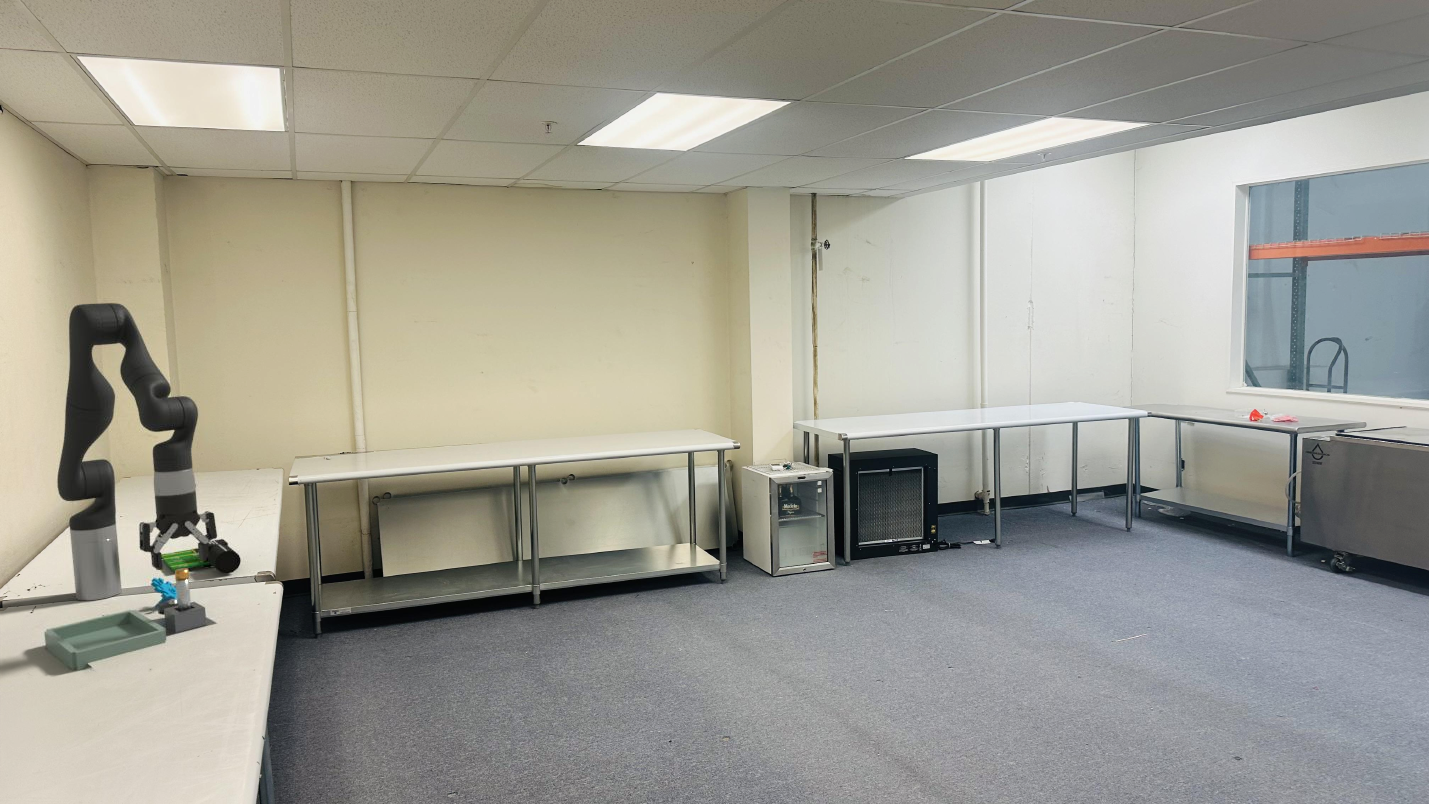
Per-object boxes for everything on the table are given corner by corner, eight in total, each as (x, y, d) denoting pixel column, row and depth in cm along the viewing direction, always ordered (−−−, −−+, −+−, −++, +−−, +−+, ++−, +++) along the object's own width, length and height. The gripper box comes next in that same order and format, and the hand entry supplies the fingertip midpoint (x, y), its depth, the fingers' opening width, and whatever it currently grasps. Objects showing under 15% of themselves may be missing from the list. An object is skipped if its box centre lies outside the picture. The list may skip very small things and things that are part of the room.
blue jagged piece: (185, 607, 202) (149, 578, 201) (165, 627, 201) (128, 599, 199) (199, 598, 213) (165, 571, 211) (180, 617, 212) (146, 591, 210)
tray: (44, 646, 183) (42, 630, 183) (134, 624, 196) (133, 609, 196) (74, 671, 170) (72, 654, 170) (168, 646, 183) (167, 629, 182)
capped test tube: (177, 626, 192) (173, 570, 190) (190, 623, 194) (185, 567, 192) (181, 628, 190) (177, 572, 189) (194, 625, 192) (190, 569, 191)
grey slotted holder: (144, 627, 194) (142, 602, 194) (194, 614, 202) (192, 591, 201) (166, 640, 186) (164, 615, 185) (217, 627, 193) (215, 603, 193)
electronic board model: (157, 536, 246) (218, 527, 256) (159, 560, 247) (220, 550, 257) (179, 558, 224) (245, 547, 234) (181, 584, 225) (246, 572, 234)
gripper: (204, 483, 196) (209, 554, 198) (130, 494, 186) (137, 569, 187) (218, 487, 192) (223, 560, 193) (143, 498, 181) (150, 575, 182)
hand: (181, 564), depth 190 cm, fingers open, 8 cm apart
